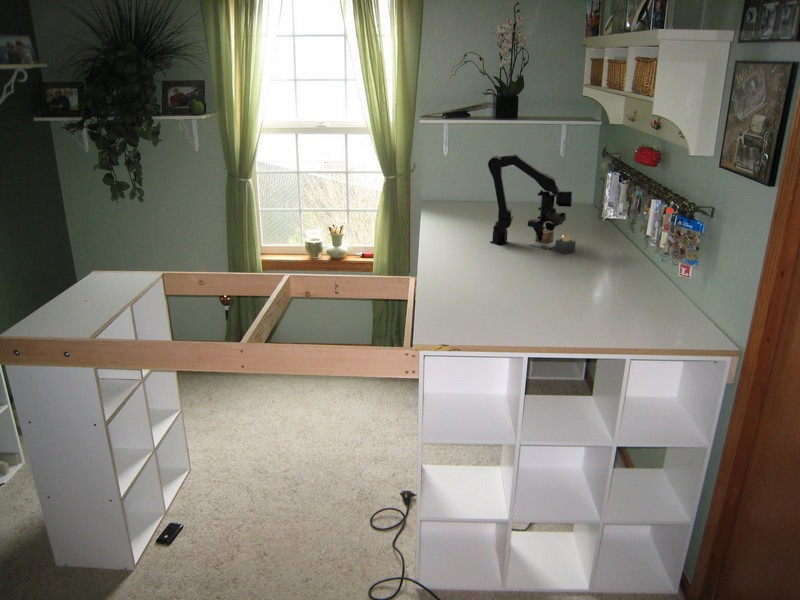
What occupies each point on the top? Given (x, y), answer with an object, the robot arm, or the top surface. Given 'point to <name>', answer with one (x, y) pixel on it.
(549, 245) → the plate
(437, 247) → the top surface
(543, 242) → the light brown cube-like block
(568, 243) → the press block
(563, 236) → the pin
